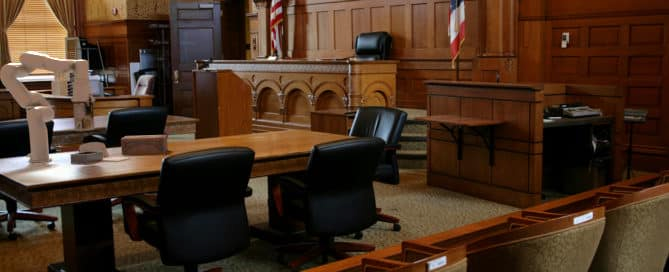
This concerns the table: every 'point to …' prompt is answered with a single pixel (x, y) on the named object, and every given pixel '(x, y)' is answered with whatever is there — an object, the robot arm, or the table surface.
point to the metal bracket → (86, 157)
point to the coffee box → (83, 117)
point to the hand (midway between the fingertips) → (83, 112)
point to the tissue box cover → (144, 144)
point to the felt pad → (115, 159)
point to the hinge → (94, 147)
